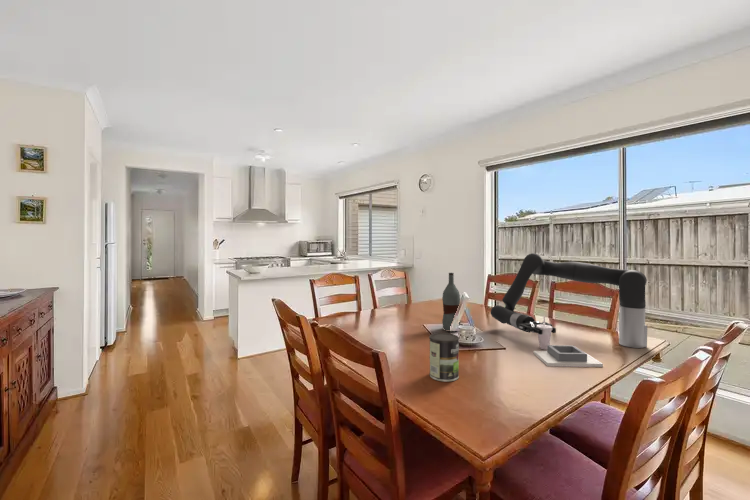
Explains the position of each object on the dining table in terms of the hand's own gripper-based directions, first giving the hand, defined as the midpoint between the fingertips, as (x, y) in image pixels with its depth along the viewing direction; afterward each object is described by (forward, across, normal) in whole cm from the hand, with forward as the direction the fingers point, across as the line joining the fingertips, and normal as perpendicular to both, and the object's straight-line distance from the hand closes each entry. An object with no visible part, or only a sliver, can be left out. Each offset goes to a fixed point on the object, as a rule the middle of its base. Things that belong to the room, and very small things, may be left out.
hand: (548, 331), depth 150 cm
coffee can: (+12, -55, +8) cm, 57 cm away
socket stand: (+12, -2, +8) cm, 14 cm away
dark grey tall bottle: (-41, -24, +8) cm, 48 cm away
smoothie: (-2, 0, +8) cm, 9 cm away
